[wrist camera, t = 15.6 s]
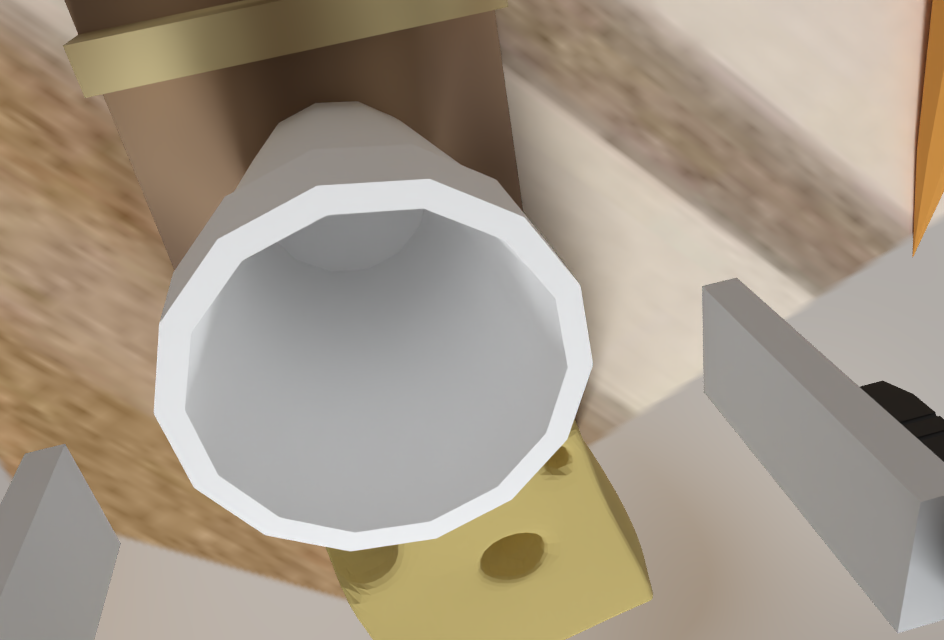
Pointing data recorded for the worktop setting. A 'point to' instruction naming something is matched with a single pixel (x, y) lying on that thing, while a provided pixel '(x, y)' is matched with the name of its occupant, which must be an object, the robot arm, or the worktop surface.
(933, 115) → the carrot
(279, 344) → the foam cup
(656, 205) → the worktop surface
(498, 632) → the cheese
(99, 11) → the rack
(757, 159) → the worktop surface
